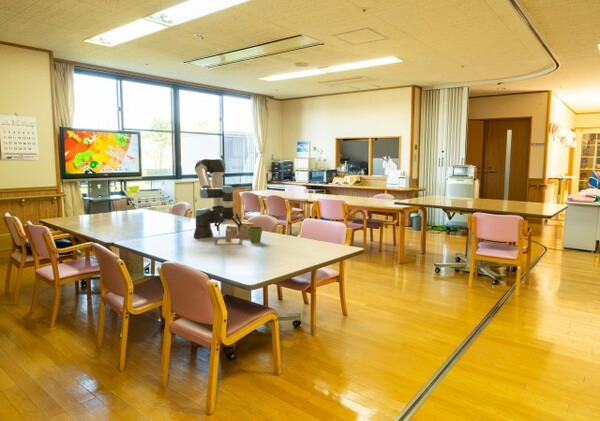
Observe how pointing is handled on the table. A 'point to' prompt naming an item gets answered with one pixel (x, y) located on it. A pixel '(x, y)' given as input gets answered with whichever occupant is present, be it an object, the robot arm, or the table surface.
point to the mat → (232, 244)
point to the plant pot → (255, 234)
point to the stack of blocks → (243, 230)
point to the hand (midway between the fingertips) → (228, 235)
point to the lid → (228, 239)
